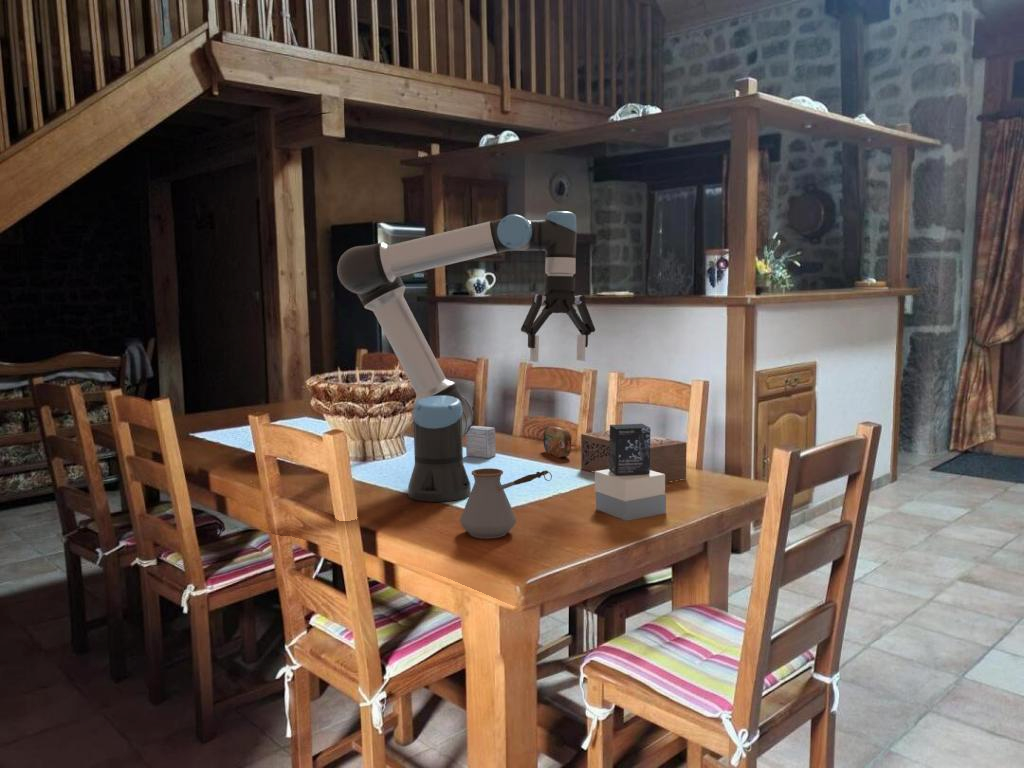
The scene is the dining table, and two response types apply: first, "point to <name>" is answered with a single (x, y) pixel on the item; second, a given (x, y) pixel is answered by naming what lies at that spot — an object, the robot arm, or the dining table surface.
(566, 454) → the tin
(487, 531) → the coffee pot
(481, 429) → the medicine box
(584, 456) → the tissue box cover
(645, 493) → the tower top
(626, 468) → the box
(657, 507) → the block
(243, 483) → the dining table surface
